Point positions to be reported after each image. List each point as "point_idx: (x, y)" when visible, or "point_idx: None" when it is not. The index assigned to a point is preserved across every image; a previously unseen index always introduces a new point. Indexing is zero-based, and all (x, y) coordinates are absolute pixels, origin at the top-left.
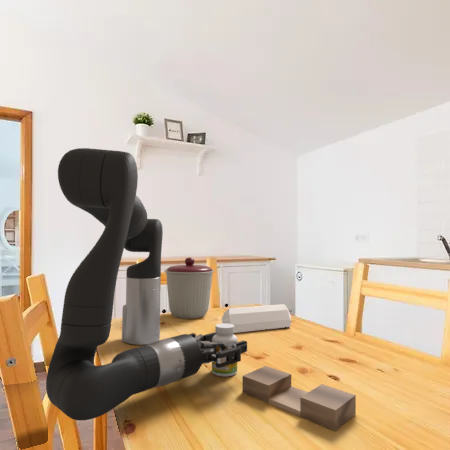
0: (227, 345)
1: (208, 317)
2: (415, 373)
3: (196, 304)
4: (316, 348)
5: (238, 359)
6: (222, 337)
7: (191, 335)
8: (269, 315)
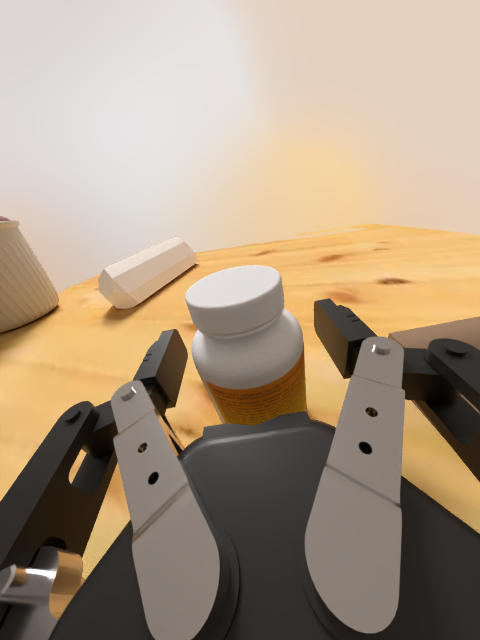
0: (385, 373)
1: (67, 303)
2: (403, 236)
3: (25, 293)
4: (272, 265)
5: (461, 397)
6: (265, 340)
7: (71, 439)
8: (170, 256)
